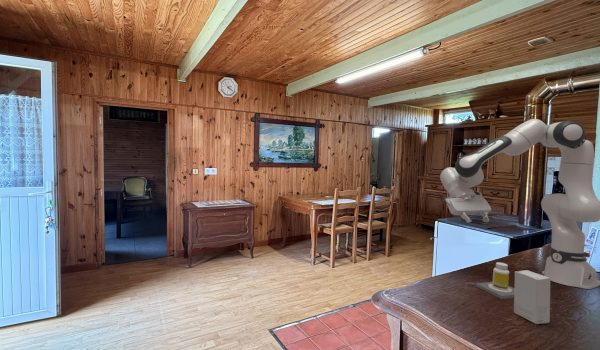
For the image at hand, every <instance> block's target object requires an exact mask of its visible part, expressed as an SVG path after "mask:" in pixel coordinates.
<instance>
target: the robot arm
mask: <svg viewBox="0 0 600 350" xmlns="http://www.w3.org/2000/svg"><path fill="white" fill-rule="evenodd" d="M536 144H538V145H539V146H541V147H543V148H547V149H552V148H553V149H554V148H555V149H556V148H558V149H559V151H560V154H561V157H560V163H559V170H558V175H557V176H558V177H557V178H558V182H559V183H560V184H561V185H562V186H563V188H564V191H565V193H560V192H559V193H552V194H551V193H550V194H547V195H545V196H544V197H543V198H542V199H541V202H540V205H541V206H540V207H541V209H542V211H543V212H544V213H545V214H546V215H547V218H548V221H549V223H550V227H551V246H550V247H549V250H548V251H549V256H548V257H546V261H545V266H544V270H542V273H541V275H543V276H546V277H549V278H551V279H550V282H554V283H556V284H560V285H565V286H568V287H576V288H580V289H585V290H591V289H594V288H597V287H599V286H600V280H599V279H597V271H596V269H595V268H594V267H593V266H592V265H591V264H590V263H589V262H588V261H587V258H588V259H589V258H591V253H590V252H586V251H585V243H586V235H585V233H584V232H583V231H582V230H581V229H580V228H579V227H580V226H578V223H577V222H579V223H597V222H599V221H600V199H598V197H597V195H596V194H595V191H594V188H593V174H594V167H595V166H594V164H595V148H594V143H593V142H592V141H590V140H588V139H587V135H586V130H585V128H584V126H583V125H582V124H581V123H580V122H577V121H574V120H563V121H559V122H558V121H557V122H554V123H551V124H548V125H547V124H546V123H545V122H543V121H542V120H541V119H538V118H531V119H528V120H526V121H525V122H523V123H521V124H519V125H517V126H515V128H513V129H511V130H510V131H508V132H507V133H506V134H504V135H502V136H499V137H496V138H494V139H493V140H490V141H489V142H487V143H486V144H485V145H482V146H481V147H479V148H478V149H476V150H474V151H472V152H470V153H467V154H464V155H461V156H460V157H459V158H458V159H457V160H456V161H455V164H454V167H451V166H449V167H446V168H444V169H443V170H442V171H441V173H440V175H439V178H440V179H439V180H440V181H441V184H442V186H443V188H444V190H445V191H446V192H448V195H449V196H447V197H445V199H444V200H445V202H446V206H447V208H448V210H449V213H450V214H452V215H453V216H459V217H460V218H462V219H463V220H465V222H466V223H472V222H473V220H472V218H471V217H469V216H470V215H471V216H476V215H478V216H479V215H480V216H481V217H482V219H481V220H482V221H483V222H484V223H488V222H489V221H490V219H489V217H488V214H490V212H492V207H491V205H490V204H489V203H488V201H487V199H485V198H484V197H483V194H482V193H481V192H480V191H476V190H474V189H472V188H474V187H477V186H479V185H481V184H482V183H483V181H484V179H485V175H484V172H483V171H484V170H483V169H482V166H483V164H484V163H485V162H487V161H488V160H490V159H492V158H493V157H495V156H497V155H498V154H502V153H503V154H505V155H507V156H512V157H515V156H517V157H518V156H519V155H522V154H524V153H525V152H527V151H528V150H530V149H531V148H532V147H533V146H536Z"/></svg>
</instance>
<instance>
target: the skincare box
mask: <svg viewBox="0 0 600 350" xmlns="http://www.w3.org/2000/svg"><path fill="white" fill-rule="evenodd" d="M550 279H551V278H549V277H546V276H544V274H541V273H536V272H534V271H531V270H528V269H526V270H517V271H514V287H513V288H514V298H513V299H514V300H513V313H514V314H516V315H518V316H520V317H522V318H524V319H526V320H528V321H530V322H531V323H533V324H535V325H539V324H540V325H541V324H549V323H550V321H551V319H550V318H551V280H550Z"/></svg>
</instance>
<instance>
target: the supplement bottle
mask: <svg viewBox="0 0 600 350" xmlns="http://www.w3.org/2000/svg"><path fill="white" fill-rule="evenodd" d="M508 267H509V265H508V264H507V263H504V262H496V263H495V267H494V268H493V270H492V271H493V272H492V281H491V282H492V286H493V287H495V288H497V289H500V290H507V289H508V286H509V285H510V284H509V281H510V271H509V270H508Z"/></svg>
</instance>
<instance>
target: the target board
mask: <svg viewBox="0 0 600 350" xmlns="http://www.w3.org/2000/svg"><path fill="white" fill-rule="evenodd" d="M475 287H477V288H478V289H481V290H483V291H485V292H487V293H489V294H491V295H493V296H494V297H497V298H498V299H501V300H505V299H506V300H507V299H514V287H512V286H511V285H508V289H507V290H500V289H497V288H495V287H493V286H492V281H487V282H486V281H485V282H476V283H475Z"/></svg>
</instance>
